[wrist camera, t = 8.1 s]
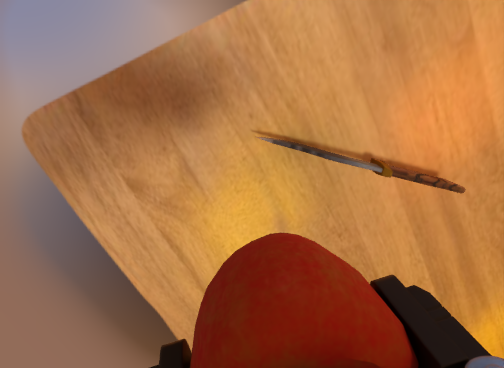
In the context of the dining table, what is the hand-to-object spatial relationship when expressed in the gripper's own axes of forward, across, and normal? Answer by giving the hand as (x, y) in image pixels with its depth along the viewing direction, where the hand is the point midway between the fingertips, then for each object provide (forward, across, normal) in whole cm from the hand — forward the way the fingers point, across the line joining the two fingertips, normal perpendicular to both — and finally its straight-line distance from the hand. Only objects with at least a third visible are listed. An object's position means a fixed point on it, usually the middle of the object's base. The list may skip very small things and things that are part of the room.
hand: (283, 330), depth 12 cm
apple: (+4, 0, 0) cm, 4 cm away
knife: (+30, -14, +7) cm, 34 cm away
